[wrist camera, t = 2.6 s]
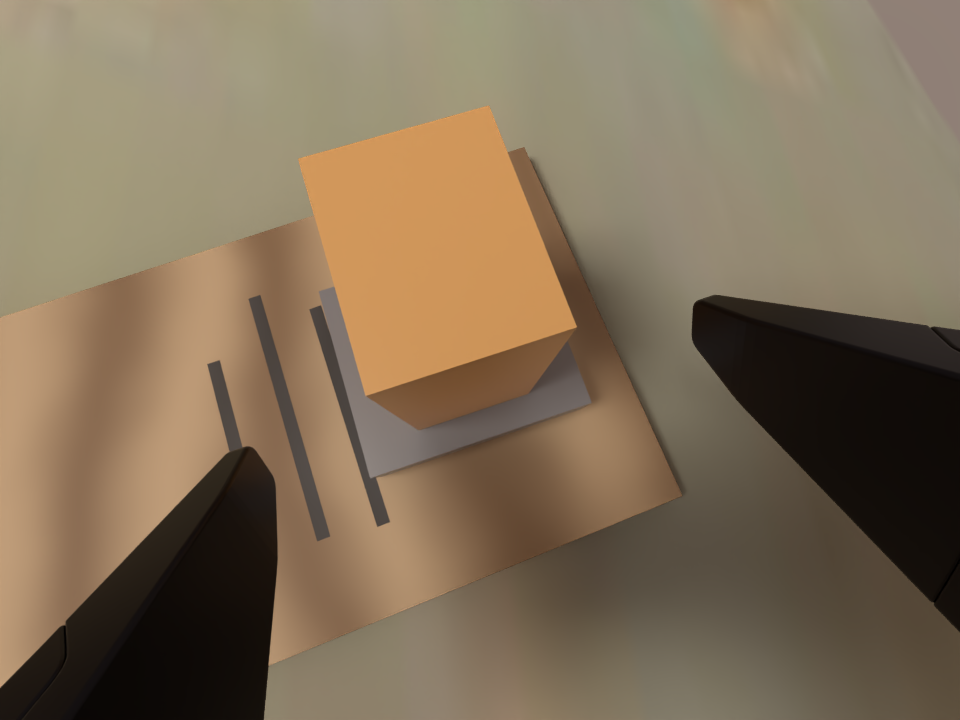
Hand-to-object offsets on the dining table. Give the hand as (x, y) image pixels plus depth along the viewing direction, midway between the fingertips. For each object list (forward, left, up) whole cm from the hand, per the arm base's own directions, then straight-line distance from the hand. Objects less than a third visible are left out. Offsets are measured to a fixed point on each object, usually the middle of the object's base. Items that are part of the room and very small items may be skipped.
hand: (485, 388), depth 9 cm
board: (+5, +5, -10) cm, 13 cm away
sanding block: (+3, -1, -9) cm, 10 cm away
